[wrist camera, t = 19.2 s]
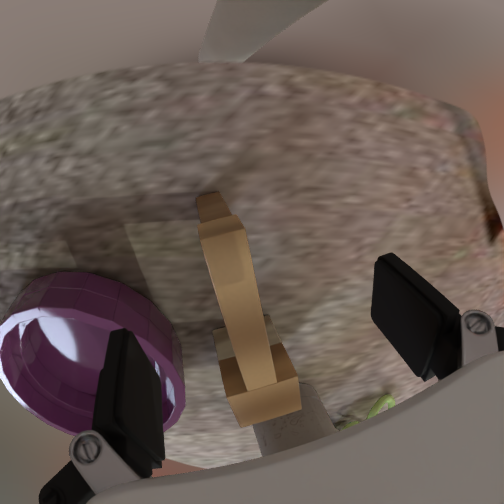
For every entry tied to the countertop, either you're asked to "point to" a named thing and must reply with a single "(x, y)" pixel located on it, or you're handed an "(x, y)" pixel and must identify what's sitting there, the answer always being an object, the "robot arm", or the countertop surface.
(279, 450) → the thermos bottle
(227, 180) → the countertop surface
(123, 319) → the bowl
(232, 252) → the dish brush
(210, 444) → the countertop surface
